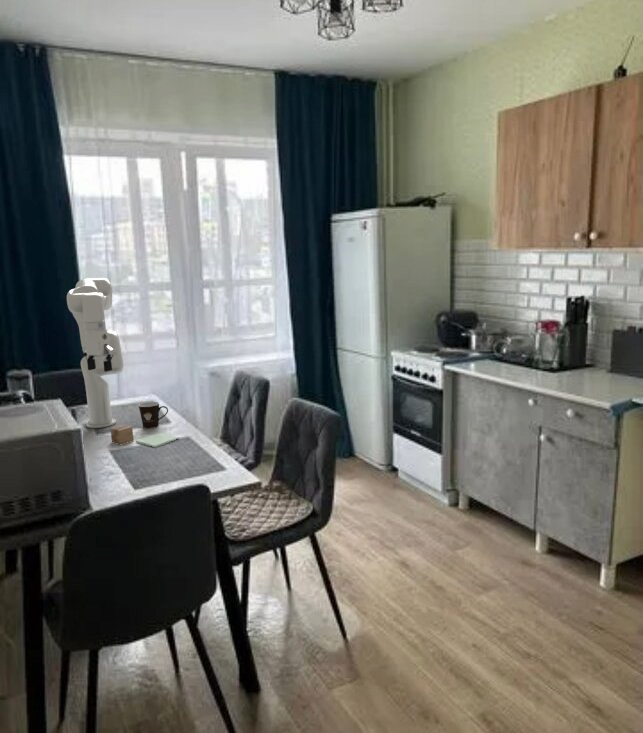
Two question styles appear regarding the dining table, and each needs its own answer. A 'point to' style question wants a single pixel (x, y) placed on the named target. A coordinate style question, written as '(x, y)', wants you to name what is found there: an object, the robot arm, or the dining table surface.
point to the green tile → (157, 439)
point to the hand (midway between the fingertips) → (100, 370)
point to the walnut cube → (122, 434)
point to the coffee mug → (150, 414)
